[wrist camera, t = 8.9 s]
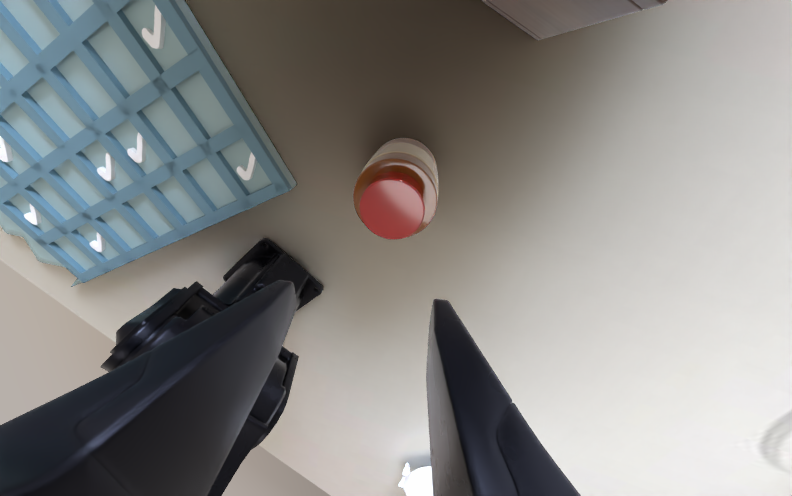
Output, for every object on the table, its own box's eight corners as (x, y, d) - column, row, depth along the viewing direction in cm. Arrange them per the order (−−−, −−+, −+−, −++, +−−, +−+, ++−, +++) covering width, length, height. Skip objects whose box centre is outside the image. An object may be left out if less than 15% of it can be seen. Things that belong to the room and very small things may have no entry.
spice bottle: (400, 215, 21) (388, 265, 16) (357, 167, 20) (327, 204, 15) (452, 176, 20) (457, 217, 14) (407, 120, 18) (395, 142, 13)
